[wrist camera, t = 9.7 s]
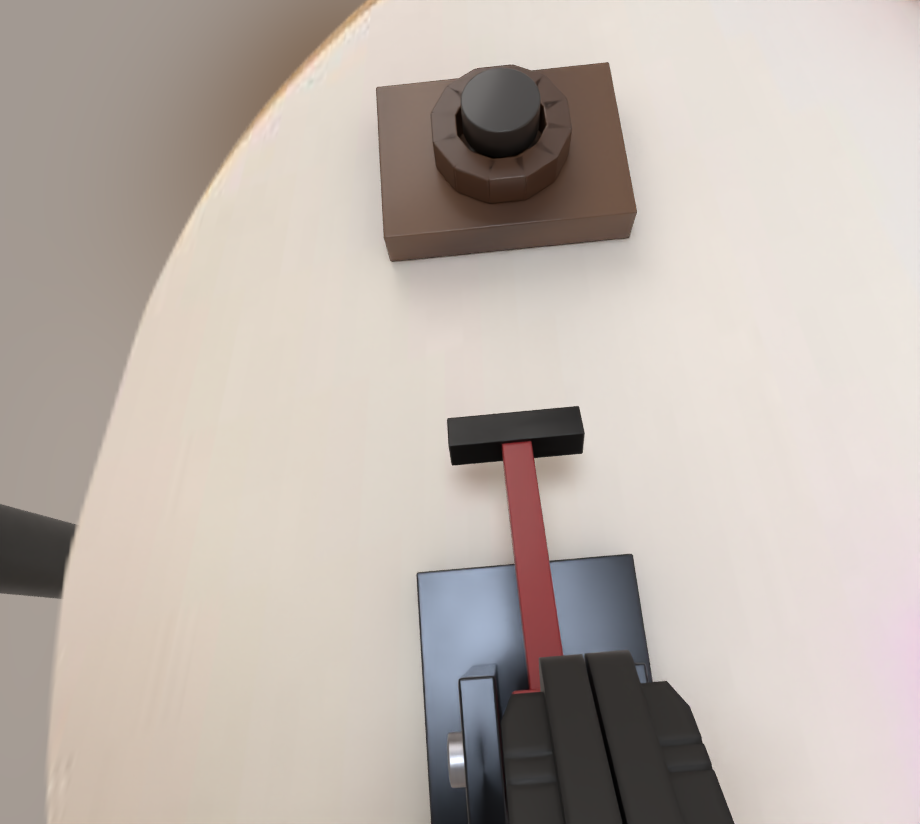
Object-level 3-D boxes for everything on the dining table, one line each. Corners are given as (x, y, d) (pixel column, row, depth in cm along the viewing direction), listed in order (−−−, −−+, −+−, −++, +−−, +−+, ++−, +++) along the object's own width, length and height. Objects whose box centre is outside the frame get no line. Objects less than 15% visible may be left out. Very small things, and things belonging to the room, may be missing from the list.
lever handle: (451, 446, 28) (445, 408, 26) (576, 434, 27) (579, 396, 26) (473, 822, 19) (467, 808, 18) (651, 808, 19) (664, 792, 17)
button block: (390, 261, 35) (377, 215, 31) (382, 117, 38) (369, 58, 34) (629, 238, 34) (645, 188, 31) (603, 93, 37) (614, 32, 33)
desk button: (465, 162, 32) (463, 135, 30) (459, 99, 33) (457, 71, 32) (543, 153, 32) (545, 127, 30) (534, 91, 33) (535, 63, 31)
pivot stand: (419, 575, 30) (376, 541, 20) (627, 556, 30) (695, 512, 19) (438, 898, 26) (398, 1067, 16) (678, 881, 26) (794, 1040, 16)
